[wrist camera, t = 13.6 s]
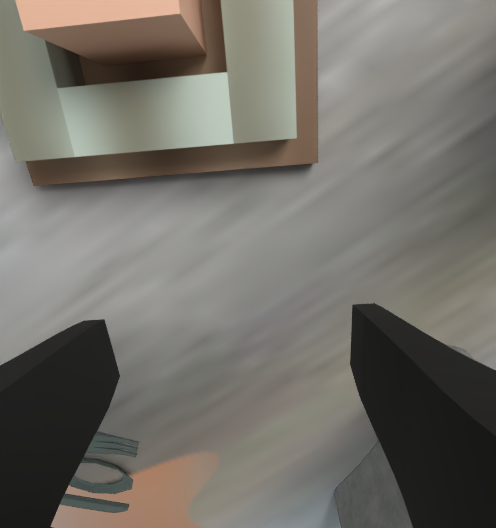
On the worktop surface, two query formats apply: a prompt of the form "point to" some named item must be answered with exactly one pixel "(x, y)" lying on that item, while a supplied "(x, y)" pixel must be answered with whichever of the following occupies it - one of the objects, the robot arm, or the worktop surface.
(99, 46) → the block
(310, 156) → the notched board
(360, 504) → the hip flask
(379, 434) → the robot arm
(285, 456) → the worktop surface
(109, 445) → the cutlery set
